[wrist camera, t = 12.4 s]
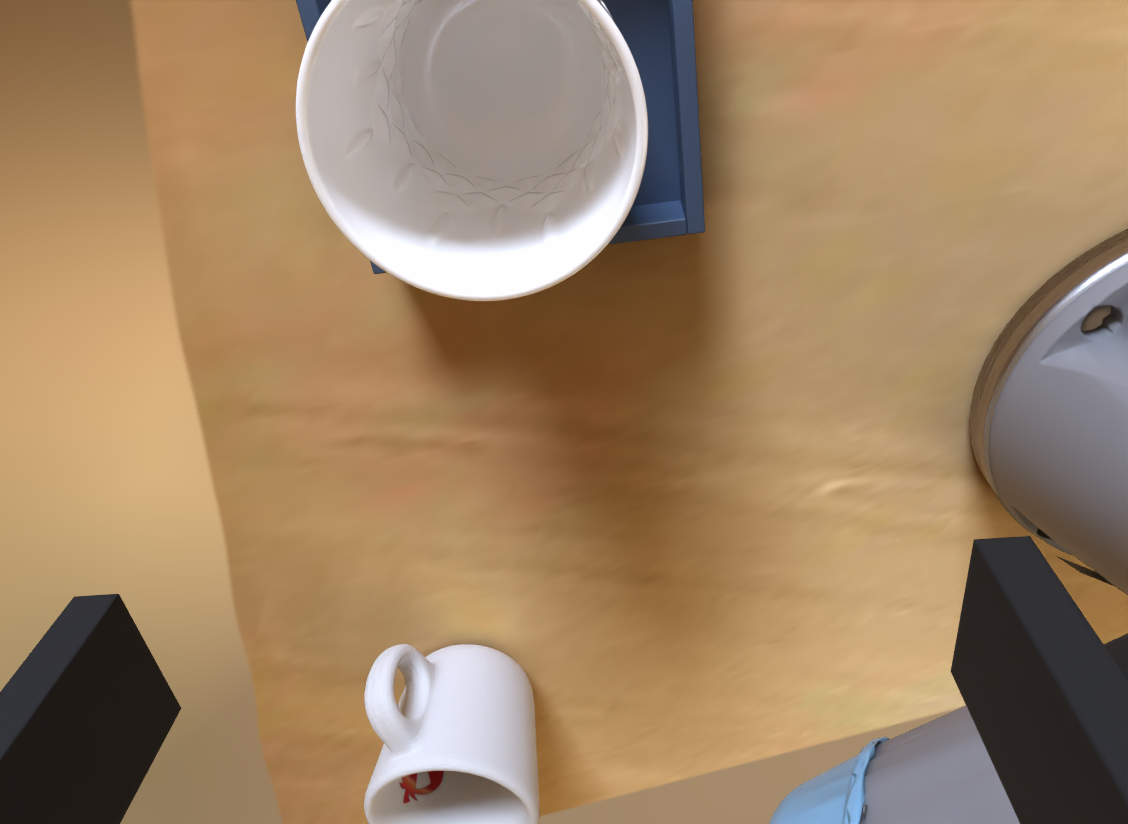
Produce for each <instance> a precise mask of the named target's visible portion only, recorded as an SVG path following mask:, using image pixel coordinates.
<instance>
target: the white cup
mask: <svg viewBox="0 0 1128 824" xmlns="http://www.w3.org/2000/svg"><path fill="white" fill-rule="evenodd" d="M296 123H297V132H298V139H299V144H300V149H301V153H302V157H303V161H304V164H305V167H306V170H307V173H308V176H309V178H310V181H311V183H312V185H313V188H314V190H315V192H316V194H317V196H318V198H319V200H320V202H321V203H322V205H323V207H324V208H325V210H326V212H327V213H328V215H329V216H330V218H331V219H332V221H333V222H334V223H335V225H336V226H337V227H338V229H339V230H340V231H341V232H342V233H343V235H344V236H345V237H346V238H347V239H348V240H349V241H350V242H351V243H352V244H353V245H354V246H355V247H356V248H357V249H358V250H359V251H360V252H361V253H362V254H363V255H364V256H365V257H367V258H368V259H369V260H370V261H372V262H373V263H374V264H376V265H377V266H378V267H380V268H381V269H383V270H384V271H386V272H387V273H389V274H390V275H392V276H394V277H396V278H397V279H399V280H401V281H403V282H405V283H407V284H409V285H411V286H414V287H416V288H419V289H421V290H424V291H427V292H430V293H433V294H436V295H440V296H444V297H448V298H454V299H460V300H469V301H498V300H507V299H513V298H518V297H523V296H527V295H530V294H534V293H537V292H539V291H542V290H545V289H547V288H550V287H552V286H554V285H556V284H558V283H560V282H562V281H564V280H565V279H567V278H569V277H570V276H572V275H574V274H575V273H577V272H578V271H579V270H581V269H582V268H583V267H585V266H586V265H587V264H588V263H590V262H591V261H592V260H593V259H594V258H595V257H596V256H597V255H598V254H599V253H600V252H601V251H602V250H603V249H604V248H605V247H606V246H607V245H608V243H609V242H610V241H611V240H612V238H613V237H614V236H615V234H616V233H617V232H618V230H619V229H620V227H621V226H622V224H623V222H624V221H625V219H626V217H627V215H628V213H629V211H630V209H631V207H632V205H633V203H634V200H635V198H636V195H637V193H638V190H639V187H640V184H641V180H642V176H643V172H644V168H645V162H646V156H647V146H648V117H647V107H646V101H645V95H644V90H643V86H642V82H641V79H640V75H639V72H638V69H637V66H636V63H635V61H634V58H633V56H632V54H631V51H630V49H629V47H628V45H627V43H626V41H625V39H624V38H623V36H622V34H621V32H620V31H619V29H618V27H617V25H616V23H615V21H614V19H613V17H612V15H611V14H610V12H609V10H608V9H607V7H606V5H605V4H604V2H603V1H602V0H332V1H331V2H330V3H329V5H328V6H327V8H326V9H325V10H324V12H323V14H322V15H321V17H320V19H319V20H318V22H317V24H316V26H315V28H314V30H313V32H312V34H311V36H310V39H309V41H308V44H307V46H306V49H305V52H304V55H303V59H302V62H301V67H300V71H299V77H298V83H297V92H296Z"/></svg>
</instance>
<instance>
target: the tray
mask: <svg viewBox="0 0 1128 824" xmlns="http://www.w3.org/2000/svg"><path fill="white" fill-rule="evenodd" d="M331 1H332V0H296V3H297V6H298V10H299V13H300V17H301V20H302V24H303V27H304V31H305V34H306V38H307V41H309V39H310V36H311V34H312V32H313V30H314V28H315V26H316V24H317V22H318V20H319V19H320V17H321V15H322V14H323V12H324V10H325V9H326V8H327V6H328V5H329V3H330V2H331ZM602 1H603V2H604V4H605V5H606V7H607V9H608V10H609V12H610V14H611V15H612V17H613V19H614V21H615V23H616V25H617V27H618V29H619V31H620V32H621V34H622V36H623V38H624V39H625V41H626V43H627V45H628V47H629V49H630V51H631V54H632V56H633V58H634V61H635V63H636V66H637V69H638V72H639V75H640V79H641V82H642V86H643V90H644V95H645V101H646V107H647V117H648V146H647V156H646V162H645V168H644V172H643V176H642V180H641V184H640V187H639V190H638V193H637V195H636V198H635V200H634V203H633V205H632V207H631V209H630V211H629V213H628V215H627V217H626V219H625V221H624V222H623V224H622V226H621V227H620V229H619V230H618V232H617V233H616V234H615V236H614V237H613V238H612V240H611V241H610V242H609V243H608V245H609V244H617V243H625V242H633V241H641V240H649V239H657V238H664V237H672V236H680V235H686V234H687V233H688V234H696V233H703V232H705V218H704V200H703V181H702V163H701V144H700V126H699V107H698V89H697V70H696V51H695V33H694V14H693V0H602ZM370 262H371V265H372V269H373V272H374V274H379V273H387V272H386V271H384V270H383V269H381V268H380V267H378V266H377V265H376V264H374V263H373V262H372V261H370Z"/></svg>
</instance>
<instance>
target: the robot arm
mask: <svg viewBox="0 0 1128 824" xmlns="http://www.w3.org/2000/svg"><path fill="white" fill-rule="evenodd" d="M970 437H971V443H972V449H973V452H974V455H975V458H976V461H977V464H978V466H979V468H980V470H981V472H982V474H983V476H984V477H985V479H986V480H987V482H988V483H989V485H990V486H991V488H992V489H993V491H994V492H995V493H996V495H997V496H998V498H999V499H1000V501H1001V502H1002V504H1003V505H1004V507H1005V508H1006V510H1007V511H1008V512H1009V513H1010V514H1011V516H1012V517H1013V518H1014V519H1015V520H1016V521H1017V522H1018V523H1019V524H1021V525H1022V526H1023V527H1024V528H1025V529H1026V530H1028V531H1029V532H1031V533H1032V534H1034V535H1035V536H1037V537H1039V538H1040V539H1042V540H1044V541H1045V542H1047V543H1048V544H1050V545H1052V546H1053V547H1055V548H1057V549H1059V550H1061V551H1063V552H1066V553H1068V554H1071V555H1073V556H1075V557H1077V558H1078V559H1079V560H1081V561H1082V562H1083V563H1085V564H1086V565H1087V566H1089V567H1090V568H1092V569H1093V570H1094V571H1095V572H1094V571H1092V570H1089V569H1087V568H1085V567H1082V566H1080V565H1077V564H1075V563H1072V562H1070V561H1067V560H1065V559H1062V558H1060V557H1058V556H1057V557H1058V558H1060V559H1061V560H1063V561H1064V562H1066V563H1067V564H1069V565H1070V566H1072V567H1073V568H1075V569H1076V570H1078V571H1079V572H1081V573H1083V574H1086V575H1088V576H1091V577H1093V578H1096V579H1098V580H1101V581H1103V582H1106V583H1108V584H1110V585H1113V586H1115V587H1117V588H1118V589H1120V590H1121V591H1123V592H1124V593H1126V594H1127V595H1128V229H1127V230H1125V231H1123V232H1121V233H1119V234H1117V235H1115V236H1113V237H1111V238H1109V239H1107V240H1105V241H1104V242H1102V243H1100V244H1099V245H1097V246H1095V247H1093V248H1092V249H1090V250H1088V251H1087V252H1085V253H1084V254H1082V255H1081V256H1080V257H1078V258H1077V259H1075V260H1074V261H1072V262H1071V263H1069V264H1068V265H1067V266H1065V267H1064V268H1063V269H1062V270H1060V271H1059V272H1058V273H1057V274H1055V275H1054V276H1053V277H1052V278H1050V279H1049V280H1048V281H1047V282H1046V283H1045V284H1044V285H1043V286H1042V287H1041V288H1040V289H1038V290H1037V291H1036V292H1035V293H1034V294H1033V295H1032V296H1031V297H1030V298H1029V300H1028V301H1027V302H1026V303H1025V304H1024V305H1023V306H1022V307H1021V308H1020V309H1019V310H1018V312H1017V313H1016V314H1015V315H1014V317H1013V318H1012V319H1011V320H1010V322H1009V323H1008V324H1007V325H1006V327H1005V328H1004V330H1003V331H1002V333H1001V334H1000V336H999V337H998V339H997V340H996V342H995V343H994V345H993V347H992V349H991V351H990V353H989V354H988V356H987V358H986V360H985V362H984V365H983V367H982V369H981V372H980V374H979V377H978V380H977V383H976V386H975V389H974V393H973V398H972V403H971V411H970ZM951 673H952V675H953V677H954V679H955V682H956V684H957V686H958V688H959V690H960V693H961V695H962V697H963V699H964V701H965V704H966V706H964V707H962V708H959V709H957V710H955V711H953V712H950V713H948V714H946V715H944V716H941V717H939V718H937V719H935V720H933V721H930V722H928V723H926V724H923V725H921V726H919V727H917V728H914V729H912V730H910V731H908V732H905V733H903V734H901V735H899V736H897V737H895V738H892V739H889V738H887V737H882V738H878V739H874V740H872V741H871V742H870V743H869V744H868V745H867V746H865V747H864V748H862V750H861V751H860V753H859V755H857V756H855V757H853V758H851V759H849V760H847V761H845V762H843V763H841V764H839V765H837V766H836V767H833V768H832V769H829V770H828V771H826V772H824V773H822V774H820V775H818V776H816V777H814V778H812V779H810V780H808V781H806V782H804V783H803V784H801V785H799V786H798V787H796V788H795V789H794V790H792V791H791V792H790V793H789V794H788V795H787V796H786V797H785V798H784V799H783V800H782V802H781V803H780V804H779V806H778V808H777V809H776V811H775V812H774V814H773V816H772V818H771V820H770V822H769V824H1128V634H1126V635H1124V636H1122V637H1119V638H1117V639H1115V640H1113V641H1111V642H1108V643H1106V644H1104V645H1103V643H1102V642H1101V640H1100V639H1099V637H1098V636H1097V634H1096V633H1095V631H1094V630H1093V628H1092V627H1091V626H1090V624H1089V623H1088V621H1087V620H1086V618H1085V617H1084V615H1083V614H1082V612H1081V611H1080V609H1079V608H1078V606H1077V605H1076V603H1075V602H1074V600H1073V599H1072V598H1071V596H1070V595H1069V593H1068V592H1067V590H1066V589H1065V587H1064V586H1063V584H1062V583H1061V581H1060V580H1059V578H1058V577H1057V575H1056V574H1055V572H1054V571H1053V570H1052V568H1051V567H1050V565H1049V564H1048V562H1047V561H1046V559H1045V558H1044V556H1043V555H1042V553H1041V552H1040V550H1039V549H1038V547H1037V546H1036V544H1035V543H1034V542H1033V540H1032V539H1031V537H1030V536H1024V537H1008V538H993V539H977V540H974V543H973V548H972V554H971V560H970V565H969V571H968V577H967V582H966V588H965V594H964V599H963V605H962V611H961V616H960V622H959V628H958V633H957V639H956V645H955V650H954V656H953V662H952V667H951ZM180 710H181V707H180V705H179V703H178V702H177V700H176V698H175V696H174V694H173V692H172V691H171V689H170V687H169V685H168V683H167V681H166V680H165V678H164V676H163V674H162V673H161V671H160V669H159V667H158V665H157V663H156V661H155V659H154V658H153V656H152V654H151V652H150V650H149V649H148V647H147V645H146V643H145V641H144V639H143V637H142V636H141V634H140V632H139V630H138V628H137V627H136V625H135V623H134V621H133V619H132V617H131V616H130V614H129V612H128V610H127V608H126V606H125V604H124V603H123V601H122V599H121V597H120V595H119V594H110V595H94V596H78V597H74V598H73V599H72V600H71V602H70V603H69V604H68V605H67V607H66V608H65V609H64V611H63V612H62V613H61V614H60V616H59V617H58V618H57V620H56V621H55V622H54V623H53V625H52V626H51V627H50V629H49V630H48V631H47V632H46V634H45V635H44V636H43V638H42V639H41V640H40V642H39V643H38V644H37V645H36V647H35V648H34V649H33V651H32V652H31V653H30V654H29V656H28V657H27V659H26V660H25V661H24V662H23V664H22V665H21V666H20V667H19V669H18V670H17V671H16V673H15V674H14V675H13V677H12V678H11V679H10V680H9V682H8V683H7V684H6V686H5V687H4V688H3V689H2V691H1V692H0V824H120V822H121V821H122V819H123V817H124V815H125V813H126V811H127V809H128V807H129V806H130V804H131V802H132V800H133V798H134V796H135V794H136V792H137V790H138V789H139V787H140V785H141V783H142V781H143V779H144V777H145V775H146V773H147V772H148V770H149V768H150V766H151V764H152V762H153V760H154V759H155V756H156V755H157V753H158V751H159V749H160V747H161V745H162V743H163V742H164V739H165V738H166V736H167V734H168V732H169V730H170V728H171V726H172V725H173V723H174V721H175V719H176V717H177V715H178V713H179V711H180Z"/></svg>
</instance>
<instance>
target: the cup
mask: <svg viewBox="0 0 1128 824" xmlns="http://www.w3.org/2000/svg"><path fill="white" fill-rule="evenodd" d="M398 668H399V669H400V671H401V672H402V674H403V676H404V679H405V684H406V686H405V688H404V690H403V693H402V696H401V699H400V701H399V704H398V706H397V703H396V700H395V695H394V681H395V675H396V672H397V669H398ZM365 708H366V713H367V716H368V719H369V721H370V724H371V726H372V727H373V729H374V731H375V732H376V733H377V735H378V736H379V737H380V739H381V740H382V741H383V742H384V745H383V748H382V750H381V753H380V756H379V759H378V761H377V764H376V767H375V769H374V772H373V775H372V778H371V780H370V783H369V786H368V789H367V792H366V795H365V802H364V809H365V815H366V818H367V821H368V823H369V824H538V822H539V815H540V808H539V787H538V766H537V744H536V723H535V705H534V696H533V691H532V687H531V684H530V681H529V679H528V677H527V675H526V673H525V671H524V670H523V669H522V667H521V666H520V665H519V664H518V663H517V662H516V661H515V660H513V659H512V658H510V657H509V656H508V655H506V654H504V653H502V652H500V651H498V650H495V649H492V648H489V647H486V646H481V645H473V644H461V645H453V646H449V647H445V648H442V649H439V650H437V651H435V652H433V653H431V654H429V655H428V656H427V657H424V656H423V655H422V654H421V653H420V652H419V651H418V650H417V649H415V648H414V647H412V646H410V645H407V644H400V645H396V646H393V647H390V648H389V649H387V650H385V651H383V652H382V653H381V654H380V655H379V656H378V657H377V659H376V661H375V662H374V664H373V666H372V668H371V670H370V672H369V675H368V678H367V683H366V688H365Z"/></svg>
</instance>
